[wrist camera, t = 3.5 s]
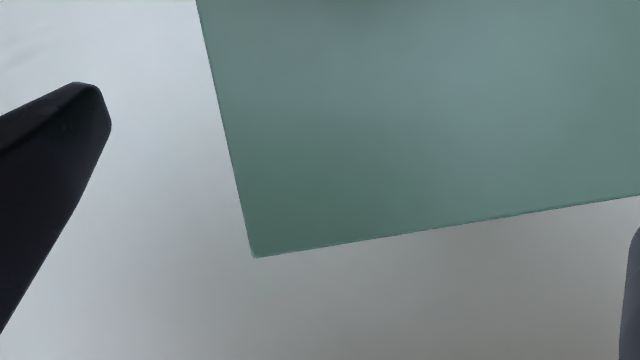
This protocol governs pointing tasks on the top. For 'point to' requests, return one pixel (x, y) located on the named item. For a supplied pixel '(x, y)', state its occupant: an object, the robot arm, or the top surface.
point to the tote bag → (421, 112)
